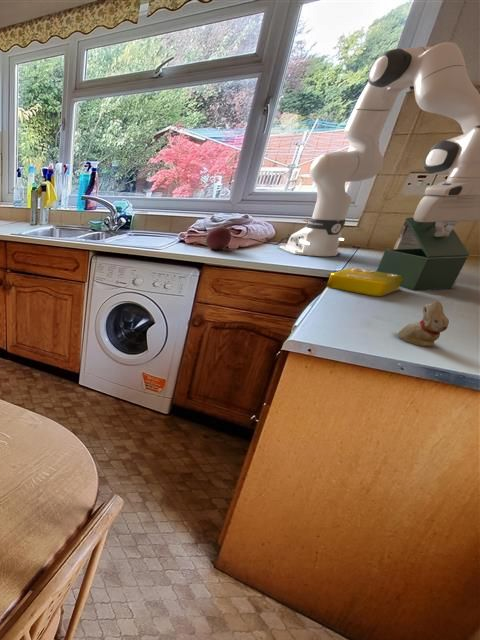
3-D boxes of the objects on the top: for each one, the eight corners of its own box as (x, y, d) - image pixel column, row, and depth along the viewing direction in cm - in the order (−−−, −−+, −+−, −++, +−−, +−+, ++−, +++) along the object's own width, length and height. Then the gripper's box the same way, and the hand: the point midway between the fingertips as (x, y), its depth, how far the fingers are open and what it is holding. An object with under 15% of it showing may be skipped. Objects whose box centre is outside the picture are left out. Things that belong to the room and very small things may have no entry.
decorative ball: (206, 251, 196) (212, 228, 191) (201, 247, 205) (206, 225, 200) (230, 251, 194) (236, 228, 189) (224, 247, 202) (229, 225, 198)
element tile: (323, 286, 143) (328, 272, 140) (345, 279, 149) (350, 265, 147) (379, 297, 131) (386, 281, 129) (400, 289, 138) (407, 274, 136)
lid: (404, 219, 139) (419, 207, 134) (442, 218, 139) (458, 206, 134) (427, 258, 132) (443, 246, 128) (467, 256, 133) (485, 245, 128)
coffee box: (385, 265, 164) (404, 221, 157) (408, 267, 161) (428, 222, 153) (387, 270, 158) (406, 224, 151) (410, 272, 155) (432, 225, 147)
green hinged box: (373, 278, 150) (385, 249, 145) (408, 277, 150) (421, 248, 145) (413, 289, 137) (427, 258, 132) (451, 288, 137) (467, 257, 132)
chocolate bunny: (407, 345, 100) (428, 304, 95) (394, 334, 106) (413, 294, 101) (438, 349, 98) (461, 306, 93) (423, 336, 104) (444, 296, 99)
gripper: (486, 186, 130) (462, 233, 137) (420, 188, 130) (400, 236, 137) (510, 187, 125) (484, 237, 131) (441, 189, 124) (419, 239, 131)
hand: (440, 236), depth 134 cm, fingers closed
